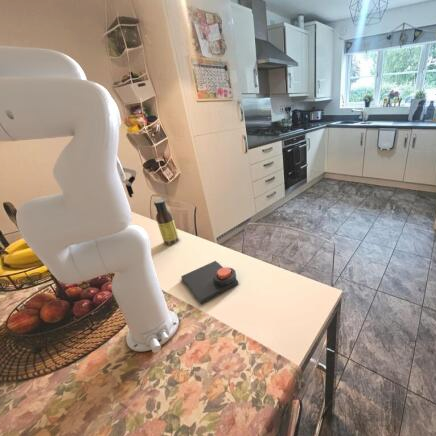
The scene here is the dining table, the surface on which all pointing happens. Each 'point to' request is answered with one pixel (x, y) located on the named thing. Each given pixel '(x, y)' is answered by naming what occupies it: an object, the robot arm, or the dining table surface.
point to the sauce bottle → (166, 223)
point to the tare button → (224, 273)
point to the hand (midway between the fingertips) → (114, 199)
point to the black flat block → (208, 282)
